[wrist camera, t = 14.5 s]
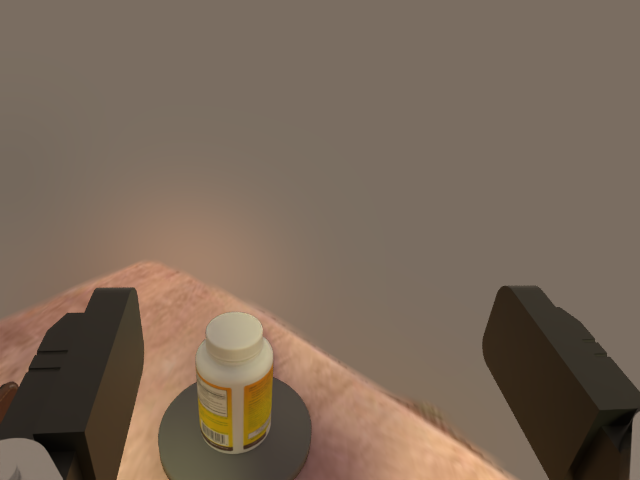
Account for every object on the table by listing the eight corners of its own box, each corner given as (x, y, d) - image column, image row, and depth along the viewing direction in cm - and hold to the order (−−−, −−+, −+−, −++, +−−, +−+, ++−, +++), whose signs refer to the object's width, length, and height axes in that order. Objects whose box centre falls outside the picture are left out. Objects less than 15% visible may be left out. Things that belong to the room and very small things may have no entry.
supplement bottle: (269, 399, 43) (274, 304, 38) (271, 456, 39) (276, 356, 33) (203, 400, 43) (197, 304, 37) (196, 459, 38) (189, 358, 33)
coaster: (136, 498, 36) (134, 488, 36) (184, 374, 46) (183, 364, 46) (304, 515, 36) (305, 505, 35) (314, 387, 46) (315, 377, 46)
